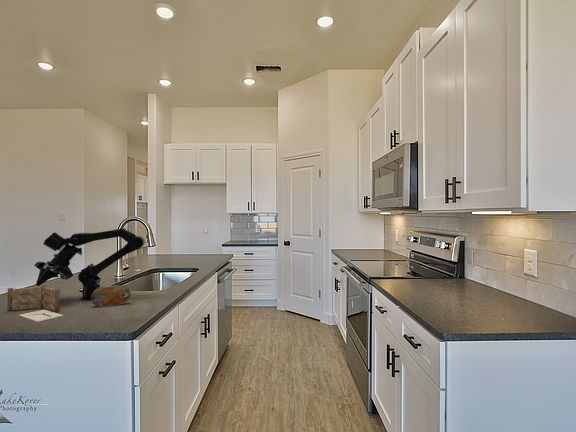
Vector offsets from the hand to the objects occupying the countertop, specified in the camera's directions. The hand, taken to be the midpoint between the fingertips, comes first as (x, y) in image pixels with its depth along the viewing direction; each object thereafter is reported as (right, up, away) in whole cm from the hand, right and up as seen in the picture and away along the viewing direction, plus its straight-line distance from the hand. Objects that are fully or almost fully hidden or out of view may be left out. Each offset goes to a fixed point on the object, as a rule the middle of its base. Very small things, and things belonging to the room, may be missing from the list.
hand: (37, 285), depth 146 cm
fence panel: (-1, -8, -6) cm, 10 cm away
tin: (+30, -9, +3) cm, 31 cm away
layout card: (+12, -9, -14) cm, 20 cm away
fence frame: (+9, -9, -5) cm, 14 cm away
